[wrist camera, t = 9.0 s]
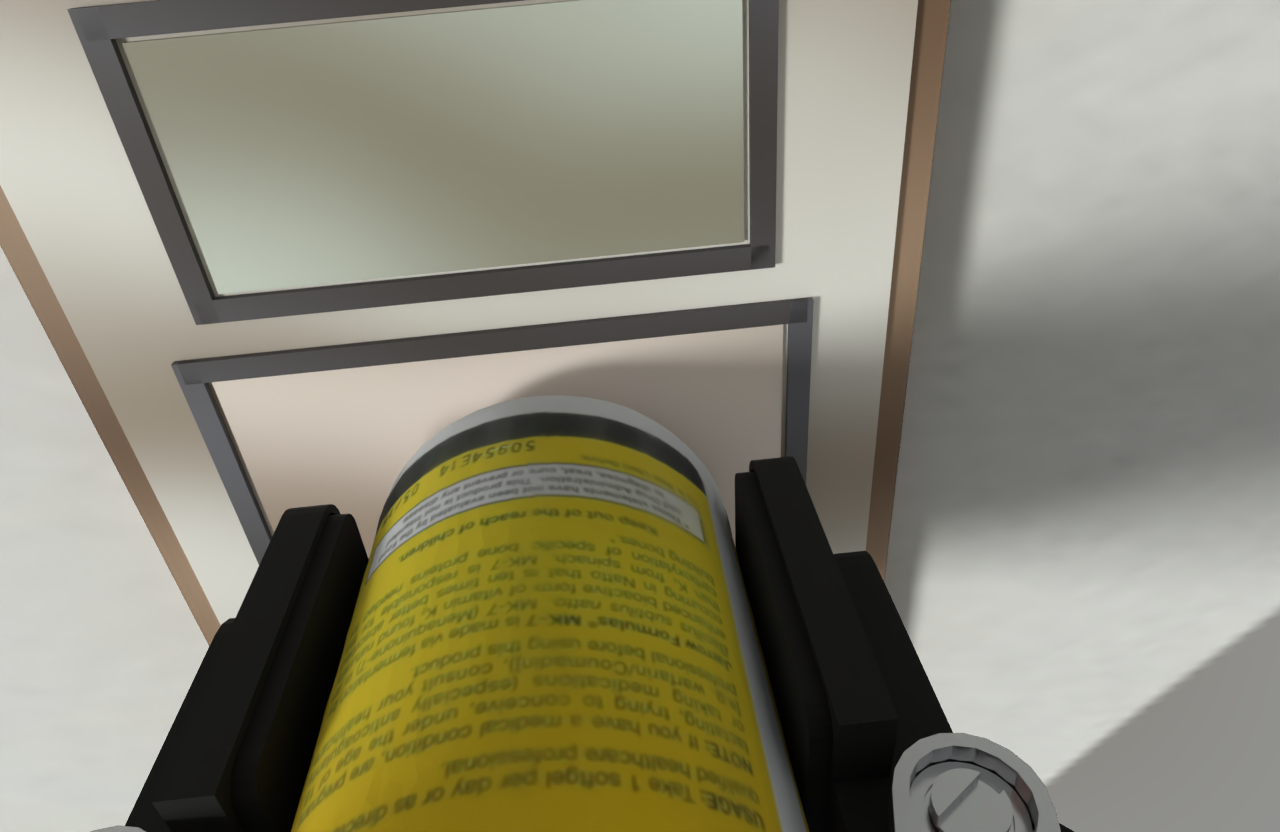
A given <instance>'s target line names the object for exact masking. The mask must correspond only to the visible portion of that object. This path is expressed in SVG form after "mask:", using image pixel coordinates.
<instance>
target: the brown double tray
mask: <svg viewBox="0 0 1280 832" xmlns="http://www.w3.org/2000/svg"><path fill="white" fill-rule="evenodd" d="M950 4H951V0H0V246H1V248H2V249H3V251H4V253H5V255H6V257H7V259H8V261H9V263H10V265H11V267H12V269H13V271H14V272H15V274H16V276H17V278H18V280H19V282H20V284H21V286H22V288H23V290H24V292H25V294H26V295H27V297H28V299H29V301H30V303H31V305H32V307H33V309H34V311H35V313H36V315H37V317H38V318H39V320H40V322H41V324H42V326H43V328H44V330H45V332H46V334H47V336H48V338H49V340H50V341H51V343H52V345H53V347H54V349H55V351H56V353H57V355H58V357H59V359H60V361H61V363H62V365H63V366H64V368H65V370H66V372H67V374H68V376H69V378H70V380H71V382H72V384H73V386H74V388H75V389H76V391H77V393H78V395H79V397H80V399H81V401H82V403H83V405H84V407H85V409H86V411H87V412H88V414H89V416H90V418H91V420H92V422H93V424H94V426H95V428H96V430H97V432H98V434H99V435H100V437H101V439H102V441H103V443H104V445H105V447H106V449H107V451H108V453H109V455H110V457H111V458H112V460H113V462H114V464H115V466H116V468H117V470H118V472H119V474H120V476H121V478H122V480H123V482H124V483H125V485H126V487H127V489H128V491H129V493H130V495H131V497H132V499H133V501H134V503H135V505H136V506H137V508H138V510H139V512H140V514H141V516H142V518H143V520H144V522H145V524H146V526H147V528H148V529H149V531H150V533H151V535H152V537H153V539H154V541H155V543H156V545H157V547H158V549H159V551H160V552H161V554H162V556H163V558H164V560H165V562H166V564H167V566H168V568H169V570H170V572H171V574H172V575H173V577H174V579H175V581H176V583H177V585H178V587H179V589H180V591H181V593H182V595H183V597H184V599H185V600H186V602H187V604H188V606H189V608H190V610H191V612H192V614H193V616H194V618H195V620H196V622H197V623H198V625H199V627H200V629H201V631H202V633H203V635H204V637H205V639H206V641H207V643H208V645H209V646H210V644H211V642H212V640H213V638H214V636H215V634H216V632H217V631H218V629H219V628H220V626H221V625H222V624H223V623H224V622H225V621H227V620H228V619H229V618H236V616H237V613H238V611H239V609H240V607H241V605H242V602H243V600H244V598H245V596H246V594H247V591H248V589H249V587H250V585H251V583H252V580H253V578H254V576H255V574H256V572H257V569H258V567H259V565H260V563H261V560H262V558H263V556H264V554H265V552H266V549H267V547H268V545H269V543H270V541H271V538H272V536H273V534H274V532H275V530H276V527H277V525H278V523H279V521H280V519H281V516H282V515H283V513H284V512H285V510H287V509H289V508H298V507H307V506H317V505H327V504H333V505H335V506H336V507H337V508H338V509H339V512H340V514H351V515H352V516H353V517H354V519H355V521H356V524H357V527H358V529H359V532H360V535H361V538H362V541H363V544H364V547H365V550H366V553H367V556H368V559H369V557H370V553H371V550H372V547H373V543H374V539H375V535H376V531H377V526H378V522H379V518H380V515H381V513H382V510H383V507H384V504H385V502H386V500H387V498H388V496H389V493H390V491H391V488H392V486H393V484H394V482H395V481H396V479H397V477H398V475H399V474H400V472H401V471H402V469H403V467H404V466H405V465H406V464H407V462H408V461H409V460H410V459H411V457H412V456H413V455H414V454H415V453H416V452H417V451H418V450H419V449H420V448H421V447H422V446H423V445H424V444H425V443H426V442H427V441H429V440H430V439H431V438H432V437H433V436H435V435H436V434H437V433H439V432H440V431H442V430H443V429H445V428H446V427H448V426H449V425H451V424H452V423H454V422H456V421H457V420H459V419H461V418H463V417H465V416H467V415H469V414H471V413H473V412H475V411H478V410H480V409H483V408H486V407H488V406H492V405H495V404H498V403H501V402H504V401H509V400H514V399H519V398H524V397H532V396H545V395H566V396H580V397H588V398H593V399H599V400H604V401H609V402H612V403H615V404H618V405H622V406H625V407H628V408H630V409H633V410H635V411H637V412H639V413H641V414H643V415H645V416H647V417H649V418H651V419H653V420H654V421H656V422H657V423H659V424H661V425H662V426H664V427H665V428H666V429H668V430H669V431H670V432H672V433H673V434H674V435H676V436H677V437H678V438H679V439H681V440H682V441H683V442H684V443H685V444H686V445H687V446H688V447H689V448H690V449H691V450H692V451H693V452H694V453H695V455H696V456H697V457H698V458H699V459H700V460H701V461H702V462H703V464H704V465H705V467H706V468H707V469H708V471H709V472H710V474H711V476H712V478H713V479H714V481H715V483H716V485H717V487H718V489H719V491H720V494H721V497H722V500H723V503H724V506H725V509H726V512H727V516H728V519H729V523H730V528H731V532H732V537H733V541H734V544H735V474H736V473H743V472H749V464H750V461H751V460H760V459H770V458H779V457H789V456H792V457H794V458H795V460H796V462H797V465H798V467H799V470H800V472H801V475H802V477H803V480H804V482H805V485H806V487H807V490H808V492H809V494H810V497H811V499H812V502H813V504H814V507H815V509H816V512H817V514H818V517H819V519H820V522H821V524H822V527H823V529H824V532H825V534H826V537H827V539H828V542H829V544H830V547H831V549H832V552H833V554H838V553H847V552H857V551H867V552H868V553H869V554H870V555H871V557H872V558H873V560H874V562H875V564H876V566H877V568H878V570H879V572H880V574H881V577H882V579H883V581H884V579H885V570H886V562H887V553H888V544H889V535H890V527H891V518H892V509H893V501H894V492H895V483H896V474H897V466H898V457H899V448H900V440H901V431H902V422H903V413H904V405H905V396H906V387H907V379H908V370H909V361H910V352H911V344H912V335H913V326H914V318H915V309H916V300H917V292H918V283H919V274H920V265H921V257H922V248H923V239H924V231H925V222H926V213H927V204H928V196H929V187H930V178H931V170H932V161H933V152H934V143H935V135H936V126H937V117H938V109H939V100H940V91H941V82H942V74H943V65H944V56H945V48H946V39H947V30H948V21H949V13H950ZM735 548H736V546H735Z"/></svg>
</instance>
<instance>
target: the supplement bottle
mask: <svg viewBox="0 0 1280 832" xmlns="http://www.w3.org/2000/svg"><path fill="white" fill-rule="evenodd" d="M291 832H809V828H808V824H807V821H806V817H805V813H804V809H803V806H802V802H801V798H800V794H799V791H798V787H797V783H796V779H795V776H794V772H793V768H792V764H791V760H790V756H789V753H788V749H787V745H786V741H785V737H784V733H783V729H782V725H781V721H780V717H779V714H778V710H777V706H776V702H775V698H774V694H773V690H772V687H771V683H770V679H769V675H768V671H767V667H766V663H765V659H764V655H763V652H762V648H761V644H760V641H759V637H758V633H757V629H756V625H755V621H754V616H753V612H752V609H751V605H750V602H749V598H748V595H747V591H746V587H745V583H744V579H743V575H742V571H741V567H740V563H739V559H738V556H737V552H736V548H735V544H734V541H733V537H732V532H731V528H730V523H729V519H728V516H727V512H726V509H725V506H724V503H723V500H722V497H721V494H720V491H719V489H718V487H717V485H716V483H715V481H714V479H713V478H712V476H711V474H710V472H709V471H708V469H707V468H706V467H705V465H704V464H703V462H702V461H701V460H700V459H699V458H698V457H697V456H696V455H695V453H694V452H693V451H692V450H691V449H690V448H689V447H688V446H687V445H686V444H685V443H684V442H683V441H682V440H681V439H679V438H678V437H677V436H676V435H674V434H673V433H672V432H670V431H669V430H668V429H666V428H665V427H664V426H662V425H661V424H659V423H657V422H656V421H654V420H653V419H651V418H649V417H647V416H645V415H643V414H641V413H639V412H637V411H635V410H633V409H630V408H628V407H625V406H622V405H618V404H615V403H612V402H609V401H604V400H599V399H593V398H588V397H580V396H566V395H545V396H532V397H524V398H519V399H514V400H509V401H504V402H501V403H498V404H495V405H492V406H488V407H486V408H483V409H480V410H478V411H475V412H473V413H471V414H469V415H467V416H465V417H463V418H461V419H459V420H457V421H456V422H454V423H452V424H451V425H449V426H448V427H446V428H445V429H443V430H442V431H440V432H439V433H437V434H436V435H435V436H433V437H432V438H431V439H430V440H429V441H427V442H426V443H425V444H424V445H423V446H422V447H421V448H420V449H419V450H418V451H417V452H416V453H415V454H414V455H413V456H412V457H411V459H410V460H409V461H408V462H407V464H406V465H405V466H404V467H403V469H402V471H401V472H400V474H399V475H398V477H397V479H396V481H395V482H394V484H393V486H392V488H391V491H390V493H389V496H388V498H387V500H386V502H385V504H384V507H383V510H382V513H381V515H380V518H379V522H378V526H377V531H376V535H375V539H374V543H373V547H372V550H371V553H370V557H369V560H368V564H367V567H366V570H365V572H364V576H363V580H362V583H361V587H360V591H359V594H358V598H357V602H356V605H355V609H354V613H353V616H352V620H351V624H350V627H349V630H348V633H347V636H346V640H345V644H344V648H343V652H342V656H341V660H340V663H339V667H338V670H337V674H336V677H335V680H334V684H333V687H332V690H331V693H330V696H329V699H328V702H327V705H326V708H325V712H324V716H323V720H322V724H321V728H320V732H319V736H318V739H317V743H316V746H315V750H314V753H313V756H312V760H311V763H310V767H309V770H308V774H307V777H306V780H305V784H304V787H303V790H302V794H301V797H300V801H299V804H298V808H297V812H296V815H295V819H294V822H293V826H292V829H291Z"/></svg>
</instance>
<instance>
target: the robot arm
mask: <svg viewBox="0 0 1280 832" xmlns="http://www.w3.org/2000/svg"><path fill="white" fill-rule="evenodd" d="M735 546H736V552H737V556H738V559H739V563H740V567H741V571H742V575H743V579H744V583H745V587H746V591H747V595H748V598H749V602H750V605H751V609H752V612H753V616H754V621H755V625H756V629H757V633H758V637H759V641H760V644H761V648H762V652H763V655H764V659H765V663H766V667H767V671H768V675H769V679H770V683H771V687H772V690H773V694H774V698H775V702H776V706H777V710H778V714H779V717H780V721H781V725H782V729H783V733H784V737H785V741H786V745H787V749H788V753H789V756H790V760H791V764H792V768H793V772H794V776H795V779H796V783H797V787H798V791H799V794H800V798H801V802H802V806H803V809H804V813H805V817H806V821H807V824H808V828H809V832H1074V831H1072V830H1070V829H1069V828H1067V827H1065V826H1063V825H1062V824H1060V823H1059V822H1058V817H1057V813H1056V809H1055V807H1054V805H1053V802H1052V800H1051V797H1050V795H1049V792H1048V790H1047V787H1046V786H1045V785H1044V783H1043V782H1042V781H1041V780H1040V778H1039V777H1038V776H1037V774H1036V773H1035V772H1034V771H1033V769H1032V768H1031V767H1030V766H1029V765H1028V764H1027V763H1025V762H1024V761H1023V760H1022V759H1020V758H1019V757H1018V756H1017V755H1015V754H1014V753H1013V752H1012V751H1010V750H1009V749H1007V748H1005V747H1003V746H1001V745H999V744H996V743H994V742H992V741H990V740H988V739H986V738H982V737H978V736H974V735H969V734H965V733H953V732H952V730H951V727H950V725H949V723H948V721H947V719H946V717H945V714H944V712H943V710H942V708H941V706H940V703H939V701H938V699H937V697H936V695H935V692H934V690H933V688H932V686H931V684H930V682H929V679H928V677H927V675H926V673H925V671H924V668H923V666H922V664H921V662H920V660H919V657H918V655H917V653H916V651H915V649H914V647H913V644H912V642H911V640H910V638H909V636H908V633H907V631H906V629H905V627H904V625H903V622H902V620H901V618H900V616H899V614H898V612H897V609H896V607H895V605H894V603H893V601H892V598H891V596H890V594H889V592H888V590H887V587H886V585H885V583H884V581H883V579H882V577H881V574H880V572H879V570H878V568H877V566H876V564H875V562H874V560H873V558H872V557H871V555H870V554H869V553H868V552H867V551H857V552H847V553H838V554H833V552H832V549H831V547H830V544H829V542H828V539H827V537H826V534H825V532H824V529H823V527H822V524H821V522H820V519H819V517H818V514H817V512H816V509H815V507H814V504H813V502H812V499H811V497H810V494H809V492H808V490H807V487H806V485H805V482H804V480H803V477H802V475H801V472H800V470H799V467H798V465H797V462H796V460H795V458H794V457H792V456H789V457H779V458H770V459H760V460H751V461H750V464H749V472H743V473H736V474H735ZM368 560H369V559H368V556H367V553H366V550H365V547H364V544H363V541H362V538H361V535H360V532H359V529H358V527H357V524H356V521H355V519H354V517H353V516H352V515H351V514H340V512H339V509H338V508H337V507H336V506H335V505H333V504H327V505H317V506H307V507H298V508H289V509H287V510H285V512H284V513H283V515H282V516H281V519H280V521H279V523H278V525H277V527H276V530H275V532H274V534H273V536H272V538H271V541H270V543H269V545H268V547H267V549H266V552H265V554H264V556H263V558H262V560H261V563H260V565H259V567H258V569H257V572H256V574H255V576H254V578H253V580H252V583H251V585H250V587H249V589H248V591H247V594H246V596H245V598H244V600H243V602H242V605H241V607H240V609H239V611H238V613H237V616H236V618H229V619H228V620H227V621H225V622H224V623H223V624H222V625H221V626H220V628H219V629H218V631H217V632H216V634H215V636H214V638H213V640H212V642H211V644H210V646H209V649H208V651H207V653H206V655H205V657H204V659H203V661H202V663H201V666H200V668H199V670H198V672H197V674H196V676H195V678H194V680H193V682H192V685H191V687H190V689H189V691H188V693H187V695H186V697H185V699H184V702H183V704H182V706H181V708H180V710H179V712H178V714H177V716H176V719H175V721H174V723H173V725H172V727H171V729H170V731H169V733H168V736H167V738H166V740H165V742H164V744H163V746H162V748H161V750H160V753H159V755H158V757H157V759H156V761H155V763H154V765H153V767H152V769H151V772H150V774H149V776H148V778H147V780H146V782H145V784H144V786H143V789H142V791H141V793H140V795H139V797H138V799H137V801H136V803H135V806H134V808H133V810H132V812H131V814H130V816H129V818H128V820H127V823H126V825H125V826H113V827H108V828H103V829H98V830H94V831H91V832H291V829H292V826H293V822H294V819H295V815H296V812H297V808H298V804H299V801H300V797H301V794H302V790H303V787H304V784H305V780H306V777H307V774H308V770H309V767H310V763H311V760H312V756H313V753H314V750H315V746H316V743H317V739H318V736H319V732H320V728H321V724H322V720H323V716H324V712H325V708H326V705H327V702H328V699H329V696H330V693H331V690H332V687H333V684H334V680H335V677H336V674H337V670H338V667H339V663H340V660H341V656H342V652H343V648H344V644H345V640H346V636H347V633H348V630H349V627H350V624H351V620H352V616H353V613H354V609H355V605H356V602H357V598H358V594H359V591H360V587H361V583H362V580H363V576H364V572H365V570H366V567H367V564H368Z"/></svg>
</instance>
